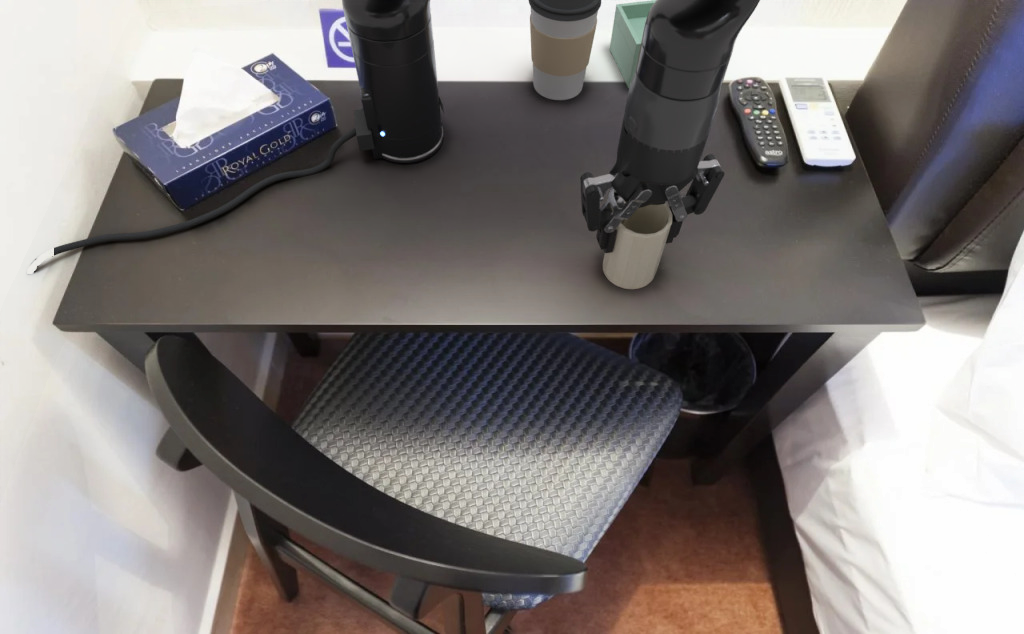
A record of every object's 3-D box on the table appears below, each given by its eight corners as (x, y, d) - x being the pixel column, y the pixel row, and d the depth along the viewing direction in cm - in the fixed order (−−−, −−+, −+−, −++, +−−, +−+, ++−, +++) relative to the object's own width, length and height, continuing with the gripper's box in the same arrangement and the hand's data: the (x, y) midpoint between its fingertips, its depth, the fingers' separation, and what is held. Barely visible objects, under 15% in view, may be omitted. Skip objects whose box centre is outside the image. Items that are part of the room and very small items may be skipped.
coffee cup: (585, 109, 90) (598, 6, 78) (520, 100, 91) (522, -4, 79) (594, 68, 95) (608, -36, 82) (532, 60, 96) (536, -44, 83)
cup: (611, 293, 73) (623, 241, 66) (596, 251, 77) (606, 197, 69) (662, 284, 74) (680, 231, 67) (645, 243, 77) (661, 189, 70)
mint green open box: (628, 88, 93) (639, 30, 85) (609, 49, 98) (618, -10, 90) (690, 80, 94) (706, 22, 86) (668, 41, 99) (682, -17, 91)
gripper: (729, 80, 60) (686, 207, 74) (576, 100, 59) (562, 226, 73) (762, 135, 56) (711, 258, 70) (600, 158, 55) (580, 280, 69)
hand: (635, 241), depth 72 cm, fingers closed on cup, 6 cm apart
